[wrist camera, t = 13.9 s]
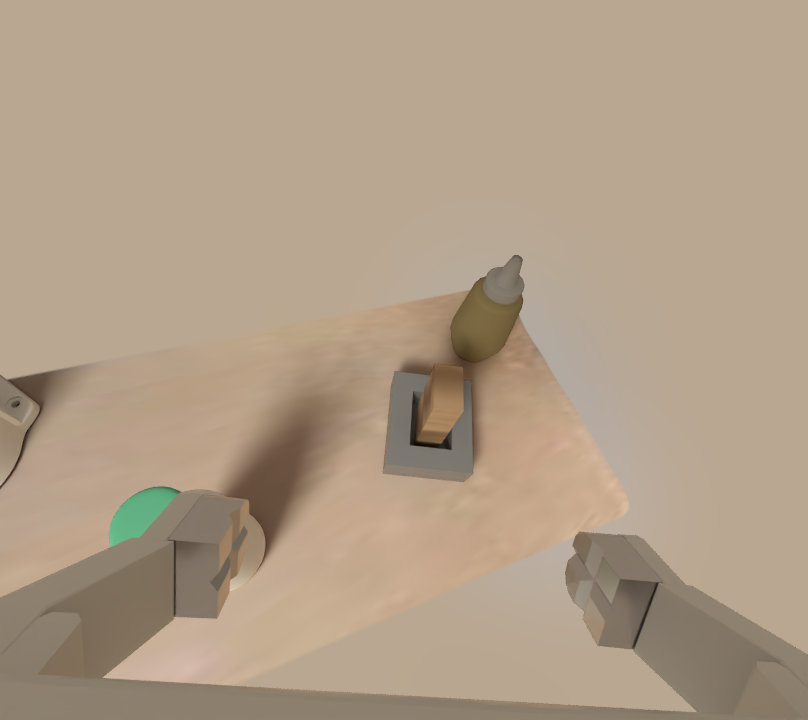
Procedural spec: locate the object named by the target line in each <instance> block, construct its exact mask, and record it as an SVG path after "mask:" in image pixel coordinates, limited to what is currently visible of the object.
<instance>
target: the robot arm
mask: <svg viewBox="0 0 808 720" xmlns="http://www.w3.org/2000/svg"><path fill="white" fill-rule="evenodd" d="M19 403H20V404H19ZM17 404H19V406H17V407H16V405H17ZM39 410H40V407H39V405H38V404H37V403H36V402H35V401H33V400H32V399H31V398H30V397H28V396H27V395H26V394H24V393H23V392H22V391H20V390H19V389H18V388H17V387H15V386H14V385H13V384H11V383H10V382H9V381H8V380H6V379H5V378H4V377H2V376H1V375H0V486H1V485H2V483H3V482H4V481H5V480H6V478H7V477H8V476H9V474H10V473H11V471H12V469H13V468H14V466H15V464H16V462H17V460H18V457H19V455H20V451H21V448H22V443H23V439H24V436H25V433H26V431H27V430H28V428H29V427H30V426H31V424H32V423H33V422H34V420H35V419H36V417H37V415H38V413H39ZM248 516H249V501H248V499H241V498H233V497H225V496H216V495H208V494H205V495H204V494H198V493H188V492H182V493H179V494H178V495H177V496H176V497H175V498H174V499H173V500H172V501H171V502H170V504H169V505H168V506H167V507H166V508H165V509H164V510H163V512H162V513H161V514H160V515H159V516H158V517H157V518H156V520H155V521H154V522H153V523H152V524H151V525H150V526H149V528H148V529H147V530H146V531H145V532H144V533H143V534H142V536H141V537H140V538H130V539H128V540H126V541H123V542H121V543H119V544H117V545H115V546H112V547H110V548H108V549H106V550H104V551H102V552H99V553H97V554H95V555H93V556H91V557H88V558H86V559H84V560H82V561H80V562H78V563H75V564H73V565H71V566H69V567H67V568H64V569H62V570H60V571H58V572H56V573H54V574H51V575H49V576H47V577H45V578H43V579H40V580H38V581H36V582H34V583H32V584H30V585H27V586H25V587H23V588H21V589H19V590H16V591H14V592H12V593H10V594H8V595H6V596H3V597H1V598H0V720H808V655H807V654H806V653H804V652H802V651H801V650H799V649H797V648H796V647H794V646H792V645H791V644H789V643H787V642H786V641H784V640H782V639H781V638H779V637H777V636H776V635H774V634H772V633H771V632H769V631H767V630H766V629H764V628H762V627H760V626H759V625H757V624H755V623H754V622H752V621H750V620H748V619H747V618H745V617H743V616H742V615H740V614H738V613H737V612H735V611H734V610H732V609H730V608H728V607H727V606H725V605H723V604H722V603H720V602H718V601H717V600H715V599H713V598H712V597H710V596H708V595H707V594H705V593H703V592H702V591H700V590H698V589H696V588H695V587H693V586H687V585H685V584H684V582H683V581H682V580H681V579H680V578H679V577H678V576H677V575H676V574H675V573H674V572H673V571H672V570H671V569H670V567H669V566H668V565H667V564H666V563H665V562H664V561H663V560H662V559H661V558H660V557H659V555H658V554H657V553H656V552H655V551H654V550H653V549H652V548H651V547H650V546H649V545H648V544H647V543H646V541H645V540H644V539H642V538H640V537H638V536H636V535H620V534H618V535H612V534H601V533H589V532H579V533H578V534H577V535H576V536H575V539H574V542H573V547H574V549H575V552H576V554H575V555H574V556H573V557H571V558H570V559H569V560H568V563H567V567H566V571H565V575H566V586H567V589H568V592H569V595H570V596H571V598H572V600H573V602H574V603H575V604H576V605H577V606H579V607H580V608H581V609H583V610H584V615H583V620H584V622H585V624H586V626H587V628H588V629H589V631H590V633H591V635H592V637H593V638H594V640H595V642H596V644H597V645H598V646H605V647H615V648H624V649H634V652H635V653H636V654H637V655H638V656H639V657H640V658H641V659H642V660H643V661H644V662H645V663H646V664H647V665H649V667H651V668H652V669H653V670H654V671H655V672H656V673H657V674H658V675H659V676H660V677H661V678H662V679H663V680H664V681H665V682H667V684H669V685H670V686H671V687H672V688H673V689H674V690H675V691H676V692H677V693H678V694H679V695H680V696H681V697H682V698H683V699H684V700H685V701H686V702H688V703H689V704H690V705H691V706H692V707H693V708H694V709H695V710H696V711H697V712H698V713H696V712H679V711H660V710H643V709H625V708H610V707H593V706H577V705H576V706H575V705H560V704H543V703H527V702H507V701H492V700H474V699H457V698H438V697H421V696H403V695H386V694H368V693H367V694H366V693H351V692H333V691H316V690H299V689H281V688H264V687H247V686H229V685H212V684H194V683H177V682H160V681H142V680H125V679H107V678H102V677H104V676H105V675H106V674H107V673H109V672H110V671H111V670H112V669H113V668H115V667H116V666H117V665H118V664H120V663H121V662H122V661H123V660H124V659H126V658H127V657H128V656H129V655H131V654H132V653H133V652H134V651H135V650H137V649H138V648H139V647H140V646H142V645H143V644H144V643H145V642H147V641H148V640H149V639H150V638H151V637H153V636H154V635H155V634H156V633H158V632H159V631H160V630H161V629H162V628H164V627H165V626H166V625H167V624H169V623H170V622H171V621H172V620H173V619H174V617H191V618H216V619H217V617H218V615H219V613H220V611H221V609H222V607H223V605H224V603H225V600H226V598H227V596H228V594H229V592H230V580H231V579H233V578H234V577H235V576H237V574H238V572H239V570H240V568H241V565H242V562H243V559H244V556H245V552H246V547H247V540H248V531H247V529H246V528H245V527H244V524H245V522H246V520H247V518H248Z"/></svg>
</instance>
